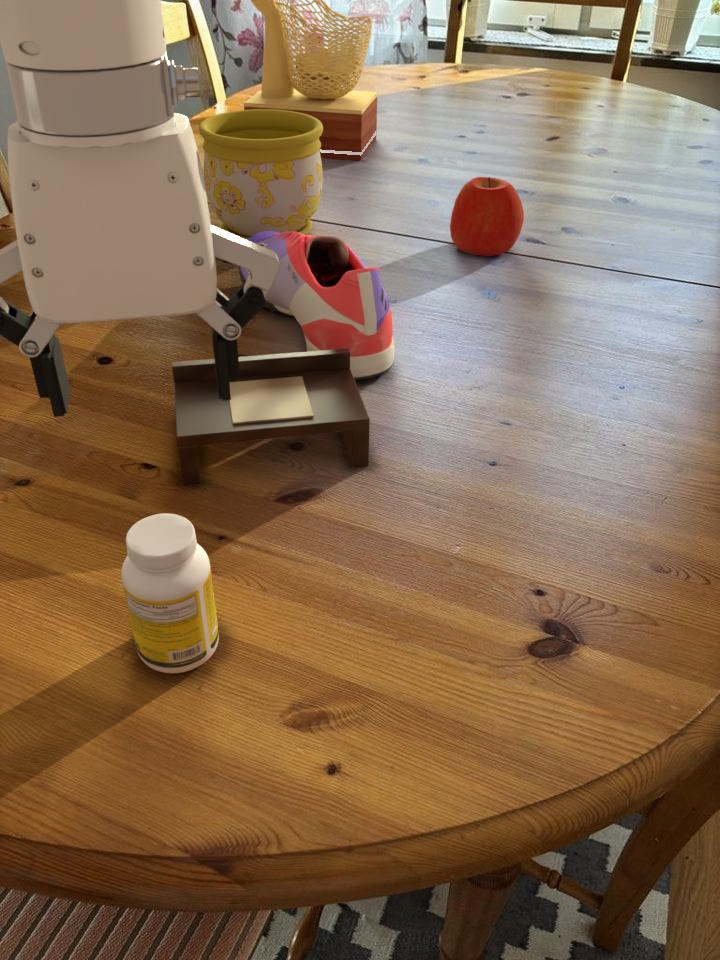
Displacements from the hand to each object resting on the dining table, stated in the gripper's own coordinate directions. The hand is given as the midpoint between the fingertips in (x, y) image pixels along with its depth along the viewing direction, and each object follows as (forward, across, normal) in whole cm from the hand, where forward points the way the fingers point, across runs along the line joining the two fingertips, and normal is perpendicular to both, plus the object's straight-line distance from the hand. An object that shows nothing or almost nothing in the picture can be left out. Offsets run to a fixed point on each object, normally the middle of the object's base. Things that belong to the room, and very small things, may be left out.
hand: (144, 397), depth 52 cm
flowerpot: (+22, -15, -85) cm, 89 cm away
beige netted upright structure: (+22, -30, -134) cm, 139 cm away
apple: (+23, -47, -74) cm, 91 cm away
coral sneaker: (+22, -17, -53) cm, 60 cm away
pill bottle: (+22, +1, 0) cm, 22 cm away
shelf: (+22, -9, -26) cm, 35 cm away
